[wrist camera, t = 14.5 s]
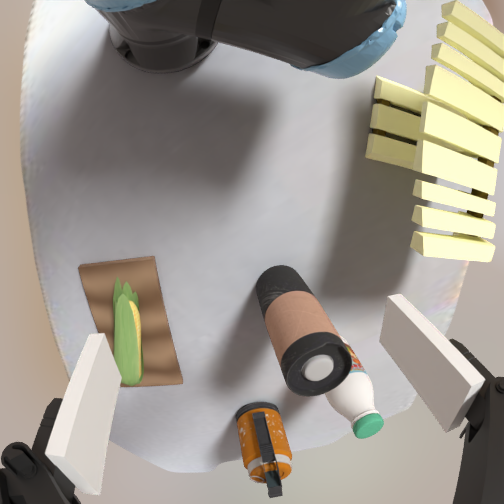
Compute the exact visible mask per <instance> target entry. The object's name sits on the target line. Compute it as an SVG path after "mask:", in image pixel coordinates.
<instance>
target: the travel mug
mask: <svg viewBox="0 0 504 504" xmlns="http://www.w3.org/2000/svg"><path fill="white" fill-rule="evenodd" d="M257 295H258V299H259V302H260V306H261V310H262V313H263V317H264V321H265V324H266V327H267V330H268V333H269V336H270V339H271V342H272V345H273V347H274V350H275V353H276V356H277V359H278V362H279V365H280V367H281V370H282V373H283V376H284V379H285V382H286V384H287V386H288V388H289V389H290V390H291V391H292V392H294V393H295V394H298V395H301V396H317V395H321V394H324V393H327V392H329V391H331V390H333V389H334V388H336V387H337V386H339V385H340V384H341V383H342V382H343V381H344V380H345V379H346V378H347V376H348V375H349V373H350V371H351V368H352V357H351V354H350V352H349V351H348V349H347V347H346V346H345V344H344V342H343V341H342V339H341V337H340V336H339V334H338V332H337V331H336V329H335V328H334V326H333V324H332V323H331V321H330V319H329V318H328V316H327V315H326V313H325V311H324V310H323V308H322V306H321V305H320V303H319V302H318V300H317V299H316V297H315V296H314V294H313V293H312V292H311V290H310V289H309V288H308V286H307V285H306V283H305V282H304V281H303V279H302V278H301V277H300V275H299V274H298V273H297V272H296V271H295V270H294V269H293V268H291V267H288V266H284V265H279V266H274V267H271V268H269V269H267V270H266V271H265V272H264V273H263V274H262V275H261V276H260V278H259V280H258V282H257Z"/></svg>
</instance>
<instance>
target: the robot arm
mask: <svg viewBox="0 0 504 504" xmlns="http://www.w3.org/2000/svg"><path fill="white" fill-rule="evenodd" d="M85 2H86V3H87V4H89V5H90V6H92V8H95V9H96V10H97V11H98V12H99V13H100V14H101V15H102V16H103V17H104V18H105V19H106V20H107V21H108V23H109V24H110V37H111V41H112V44H113V46H114V48H115V50H116V51H117V53H118V54H119V55H120V56H121V57H122V58H123V59H124V60H125V61H127V62H128V63H129V64H130V65H132V66H134V67H136V68H138V69H140V70H143V71H147V72H152V73H170V72H175V71H179V70H183V69H186V68H188V67H190V66H192V65H194V64H196V63H198V62H199V61H201V60H202V59H203V58H205V57H206V56H207V55H208V54H209V53H210V52H211V51H212V50H213V49H214V48H215V46H216V45H217V43H218V42H219V43H223V44H227V45H231V46H235V47H238V48H242V49H245V50H249V51H252V52H255V53H259V54H262V55H265V56H268V57H271V58H274V59H277V60H280V61H283V62H286V63H289V64H290V65H291V66H293V67H294V68H296V69H299V70H304V71H311V72H314V73H317V74H320V75H323V76H325V77H328V78H335V79H344V78H349V77H352V76H355V75H357V74H360V73H361V72H363V71H365V70H367V69H368V68H369V67H371V66H372V65H373V64H375V63H376V62H377V61H378V60H379V59H380V58H381V57H382V56H383V55H384V54H385V53H386V52H387V51H388V50H389V48H390V47H391V46H392V44H393V43H394V41H395V40H396V38H397V37H398V36H397V34H396V31H397V30H398V29H400V28H401V27H403V24H404V22H405V18H406V2H405V0H85ZM379 342H380V343H381V344H382V346H383V347H384V348H385V349H386V351H387V352H388V353H389V355H390V356H391V357H392V359H393V360H394V361H395V363H396V364H397V365H398V367H399V368H400V370H401V371H402V372H403V374H404V375H405V376H406V378H407V379H408V380H409V382H410V383H411V384H412V386H413V387H414V389H415V390H416V391H417V393H418V394H419V395H420V397H421V398H422V400H423V401H424V402H425V404H426V405H427V407H428V408H429V409H430V411H431V412H432V414H433V415H434V416H435V418H436V419H437V421H438V422H439V424H440V425H441V426H442V428H443V429H444V431H445V432H446V433H447V432H449V431H451V430H453V429H455V428H457V427H458V426H460V424H461V422H462V421H463V419H464V417H466V418H467V420H468V421H469V422H468V423H467V425H466V427H465V428H464V430H463V431H462V433H461V434H460V438H462V437H463V435H464V434H465V441H464V448H463V455H462V461H461V467H460V472H459V477H458V482H457V488H456V492H455V496H454V500H453V504H504V377H496V378H495V377H494V376H493V375H492V374H491V373H490V372H489V371H488V370H487V369H486V368H485V367H484V366H483V365H482V364H481V363H480V362H479V361H478V360H477V359H476V358H474V356H473V355H472V354H471V352H470V353H469V351H468V349H467V348H466V347H464V346H463V344H461V343H459V342H458V341H456V340H454V339H450V340H447V338H445V336H444V335H443V334H442V333H441V332H440V331H439V330H438V329H437V328H436V327H435V326H434V325H433V324H431V323H430V322H429V321H428V320H427V319H426V318H425V317H424V316H423V315H422V314H421V313H420V312H419V311H418V310H417V309H416V308H415V307H414V306H413V305H412V304H411V303H410V302H409V301H408V300H407V299H406V298H405V297H403V296H402V295H401V294H395V295H391V296H387V302H386V308H385V314H384V320H383V325H382V330H381V335H380V340H379ZM121 379H122V377H121V375H120V372H119V370H118V367H117V365H116V362H115V360H114V357H113V355H112V352H111V350H110V347H109V344H108V342H107V339H106V336H105V333H98V334H89V336H88V339H87V341H86V343H85V346H84V348H83V350H82V353H81V355H80V357H79V360H78V362H77V365H76V367H75V370H74V372H73V375H72V377H71V380H70V382H69V385H68V388H67V390H66V393H65V395H64V398H63V399H61V398H54V399H53V400H52V402H51V403H50V404H49V405H48V406H47V408H46V411H45V413H44V416H43V419H42V421H41V424H40V427H39V429H38V432H37V435H36V438H35V441H34V444H33V447H32V450H31V449H30V448H29V447H28V445H26V444H24V443H23V442H14V443H11V444H10V445H8V446H7V447H6V448H5V449H4V451H3V452H2V456H1V462H2V464H3V466H5V468H2V469H0V504H81V502H80V501H79V500H78V498H77V496H75V494H74V490H75V486H76V487H77V488H78V489H79V490H80V491H81V492H82V493H87V494H95V495H100V493H101V486H102V478H103V471H104V465H105V459H106V453H107V447H108V442H109V436H110V431H111V426H112V421H113V416H114V411H115V406H116V401H117V397H118V392H119V388H120V383H121Z"/></svg>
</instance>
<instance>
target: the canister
mask: <svg viewBox="0 0 504 504" xmlns="http://www.w3.org/2000/svg"><path fill="white" fill-rule="evenodd" d="M236 420H237V427H238V433H239V439H240V445H241V451H242V457H243V462H244V467H245V468H246V469H247V470H248V473H249V477H250V480H252V481H254V482H257V483H267V487H268V495H269V497H270V498H273V497H278V496H282V485H281V480H282V479H284V478H286V477H287V476H288V475H289V474H290V473H291V470H292V465H291V462H290V461H291V459H292V454H291V450H290V447H289V444H288V440H287V437H286V434H285V430H284V427H283V423H282V420H281V416H280V413H279V410H278V408H277V407H276V406H275V405H273V404H271V403H267V402H257V403H252V404H249V405H247V406H245V407H243V408H242V409H240V410H239V412H238V413H237V415H236Z"/></svg>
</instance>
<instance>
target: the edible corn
mask: <svg viewBox="0 0 504 504" xmlns="http://www.w3.org/2000/svg"><path fill="white" fill-rule="evenodd" d="M113 313H114V360H115V362H116V365H117V367H118V370H119V372H120V375H121V377H122V379H121V383H123V384H126V385H129V386H134V385H136V384H140V382H141V381H142V379H143V374H144V360H143V349H142V338H141V321H140V313H139V301H138V296H137V293H136V291H135V292H134V293H133V294H132V290H131V287H130V285H129V284H128V283H127V281H126V282H125V284H124V286H123V289H122V288H121V284H120V280H119V278H118V276H117V278H116V282H115V287H114V295H113Z"/></svg>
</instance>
